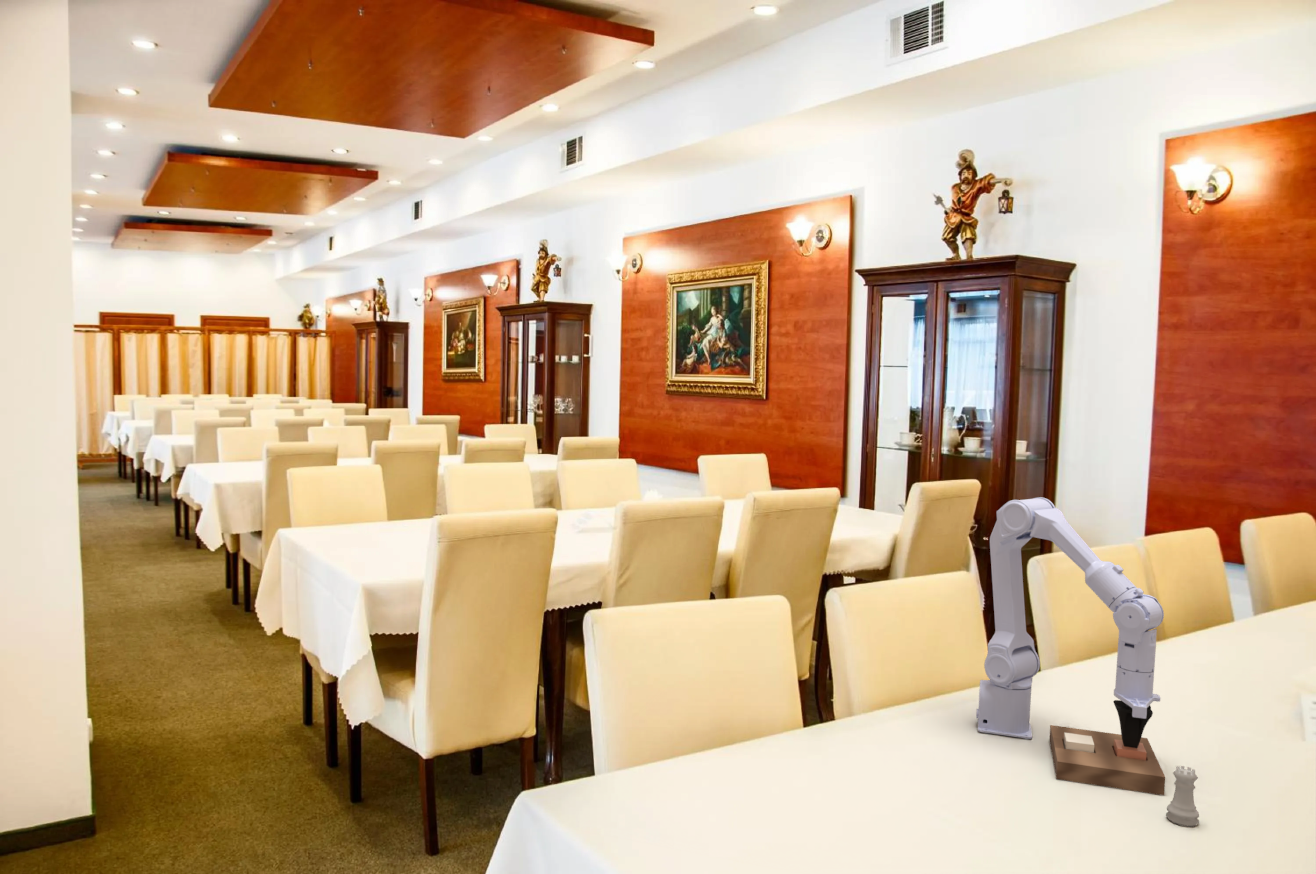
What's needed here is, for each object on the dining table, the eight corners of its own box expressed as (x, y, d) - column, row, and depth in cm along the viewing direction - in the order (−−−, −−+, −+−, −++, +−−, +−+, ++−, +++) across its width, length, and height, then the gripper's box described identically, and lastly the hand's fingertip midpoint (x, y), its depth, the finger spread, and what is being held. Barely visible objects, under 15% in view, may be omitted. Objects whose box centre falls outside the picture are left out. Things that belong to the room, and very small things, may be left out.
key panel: (1056, 779, 159) (1057, 761, 159) (1049, 741, 176) (1050, 724, 176) (1164, 795, 154) (1165, 777, 153) (1146, 754, 171) (1147, 738, 170)
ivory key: (1065, 761, 165) (1066, 741, 164) (1063, 751, 169) (1064, 732, 168) (1093, 765, 163) (1094, 745, 163) (1090, 755, 167) (1091, 736, 167)
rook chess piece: (1195, 817, 146) (1199, 766, 146) (1201, 830, 142) (1205, 777, 141) (1163, 812, 148) (1166, 761, 147) (1168, 824, 143) (1171, 772, 143)
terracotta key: (1116, 768, 162) (1117, 748, 162) (1113, 759, 166) (1114, 739, 166) (1145, 772, 161) (1146, 752, 160) (1141, 763, 165) (1142, 743, 165)
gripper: (1169, 683, 154) (1164, 765, 155) (1154, 659, 168) (1149, 734, 169) (1121, 677, 156) (1116, 758, 157) (1110, 654, 170) (1105, 728, 171)
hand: (1130, 746), depth 163 cm, fingers closed, pressing on terracotta key
